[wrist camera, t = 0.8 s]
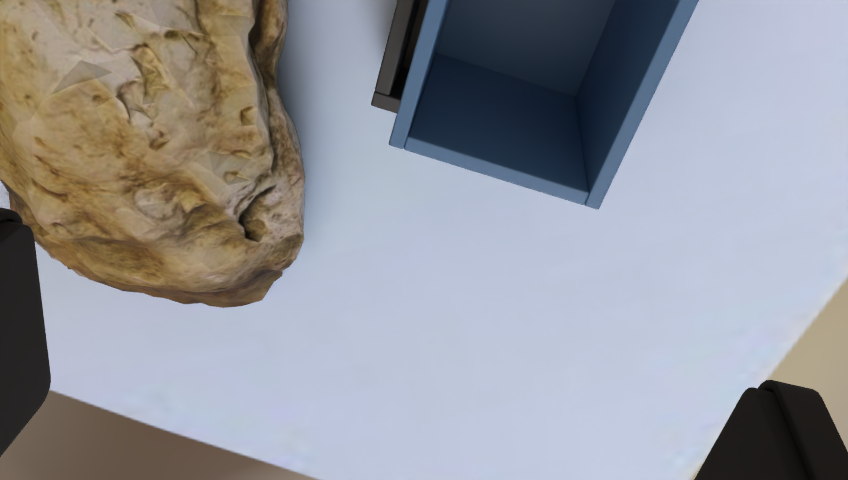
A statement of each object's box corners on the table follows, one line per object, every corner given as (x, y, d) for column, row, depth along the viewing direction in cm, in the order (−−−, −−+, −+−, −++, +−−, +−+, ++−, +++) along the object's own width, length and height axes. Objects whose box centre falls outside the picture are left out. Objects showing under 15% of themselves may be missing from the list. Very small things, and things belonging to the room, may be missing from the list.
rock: (-52, 402, 34) (-512, -542, 16) (43, 272, 41) (-199, -458, 24) (299, 418, 34) (214, -510, 16) (327, 285, 41) (291, -437, 24)
